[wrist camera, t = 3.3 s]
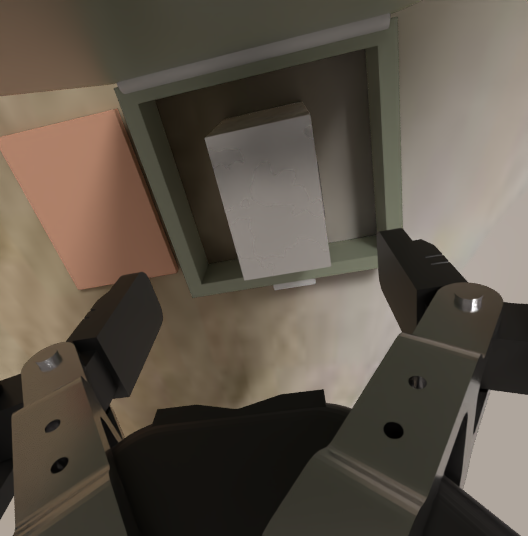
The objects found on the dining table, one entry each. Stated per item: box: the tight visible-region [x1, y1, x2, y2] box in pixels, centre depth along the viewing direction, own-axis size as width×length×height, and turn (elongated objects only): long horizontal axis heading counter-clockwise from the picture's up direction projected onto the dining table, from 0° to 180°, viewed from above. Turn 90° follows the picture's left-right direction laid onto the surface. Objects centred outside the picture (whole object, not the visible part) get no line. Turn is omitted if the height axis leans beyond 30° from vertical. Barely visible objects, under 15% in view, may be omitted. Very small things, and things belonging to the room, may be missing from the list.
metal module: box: [205, 101, 331, 281], centre depth 21 cm, size 5×8×7 cm, turn 12°
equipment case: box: [0, 0, 422, 298], centre depth 15 cm, size 15×16×21 cm
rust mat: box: [0, 109, 179, 290], centre depth 26 cm, size 8×12×1 cm
